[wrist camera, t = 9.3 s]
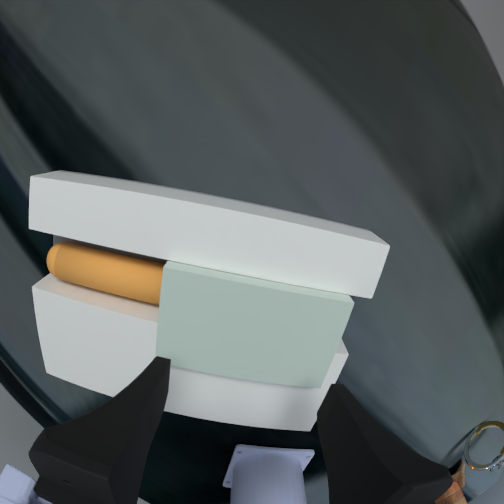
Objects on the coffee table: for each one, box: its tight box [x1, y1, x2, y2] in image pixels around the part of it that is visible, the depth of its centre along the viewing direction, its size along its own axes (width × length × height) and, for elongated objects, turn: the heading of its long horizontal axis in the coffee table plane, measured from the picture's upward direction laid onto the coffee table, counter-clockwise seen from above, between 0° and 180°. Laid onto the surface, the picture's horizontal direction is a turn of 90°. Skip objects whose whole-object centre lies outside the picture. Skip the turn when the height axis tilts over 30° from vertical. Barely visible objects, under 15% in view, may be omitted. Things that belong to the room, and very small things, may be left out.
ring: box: [464, 421, 504, 472], centre depth 24 cm, size 7×3×8 cm, turn 122°
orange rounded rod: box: [47, 242, 165, 305], centre depth 18 cm, size 2×12×2 cm, turn 78°
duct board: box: [29, 170, 390, 431], centre depth 19 cm, size 15×21×4 cm
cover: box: [155, 261, 354, 388], centre depth 17 cm, size 6×10×1 cm, turn 78°
